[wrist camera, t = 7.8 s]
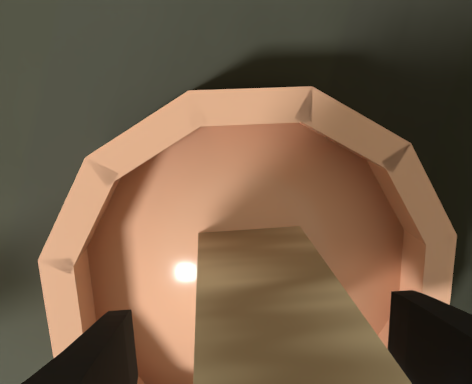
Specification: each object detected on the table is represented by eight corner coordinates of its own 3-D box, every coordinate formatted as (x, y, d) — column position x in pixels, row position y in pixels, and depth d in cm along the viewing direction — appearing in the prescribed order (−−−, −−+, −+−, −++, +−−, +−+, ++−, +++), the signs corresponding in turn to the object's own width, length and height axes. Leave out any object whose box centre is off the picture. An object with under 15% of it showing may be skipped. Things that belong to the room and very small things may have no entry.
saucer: (427, 82, 14) (473, 81, 12) (402, 397, 17) (434, 446, 15) (45, 95, 13) (10, 96, 11) (92, 424, 17) (73, 481, 14)
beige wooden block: (299, 225, 14) (415, 389, 6) (300, 316, 15) (404, 556, 7) (198, 232, 14) (192, 410, 6) (205, 324, 15) (206, 581, 7)
